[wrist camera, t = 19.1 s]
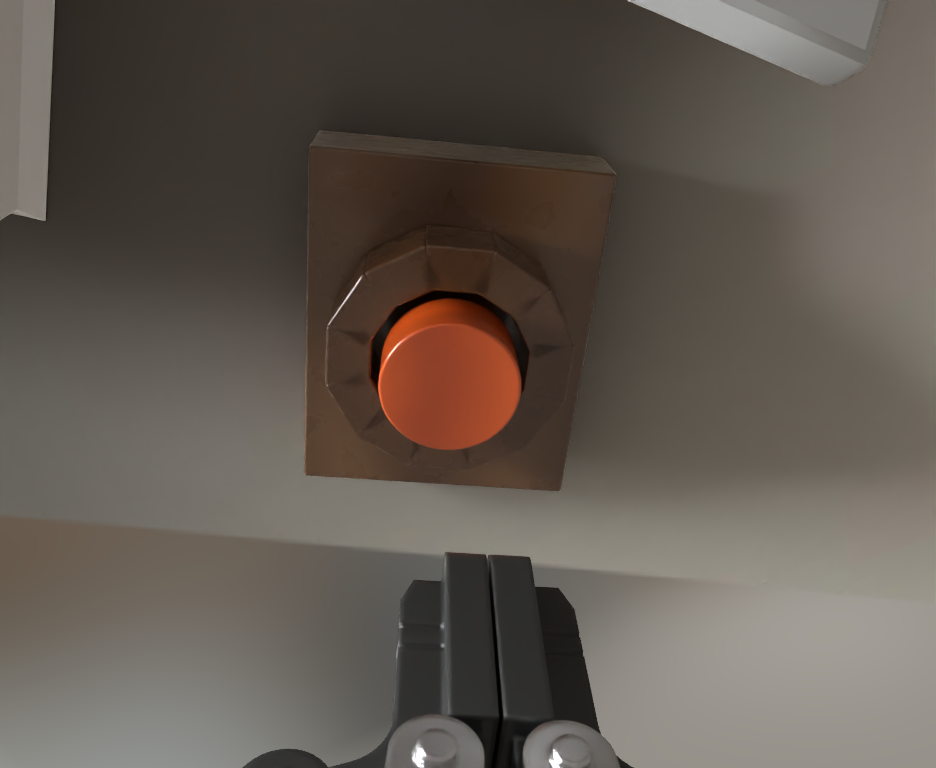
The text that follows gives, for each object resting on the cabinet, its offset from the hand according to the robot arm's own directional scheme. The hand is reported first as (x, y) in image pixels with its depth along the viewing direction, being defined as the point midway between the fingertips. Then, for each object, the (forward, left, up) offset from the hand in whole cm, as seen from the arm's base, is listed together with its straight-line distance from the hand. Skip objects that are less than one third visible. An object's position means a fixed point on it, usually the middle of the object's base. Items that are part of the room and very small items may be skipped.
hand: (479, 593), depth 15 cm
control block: (0, 0, -13) cm, 13 cm away
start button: (0, 0, -9) cm, 9 cm away
